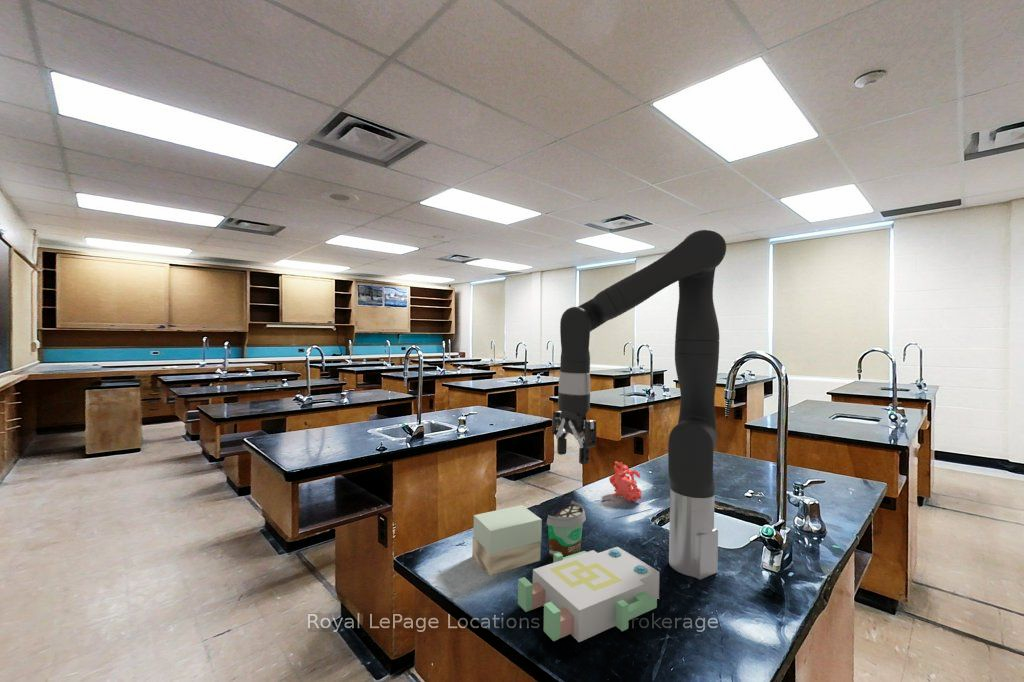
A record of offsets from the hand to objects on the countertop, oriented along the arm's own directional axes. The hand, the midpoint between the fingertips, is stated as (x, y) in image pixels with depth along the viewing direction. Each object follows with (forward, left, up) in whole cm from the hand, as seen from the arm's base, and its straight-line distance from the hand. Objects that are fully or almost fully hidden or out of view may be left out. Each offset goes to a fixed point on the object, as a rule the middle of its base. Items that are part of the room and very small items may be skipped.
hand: (572, 458), depth 101 cm
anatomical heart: (+19, -37, -23) cm, 47 cm away
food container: (0, 0, -23) cm, 23 cm away
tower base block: (+5, +15, -23) cm, 28 cm away
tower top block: (+5, +15, -18) cm, 24 cm away
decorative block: (-17, +9, -23) cm, 30 cm away
